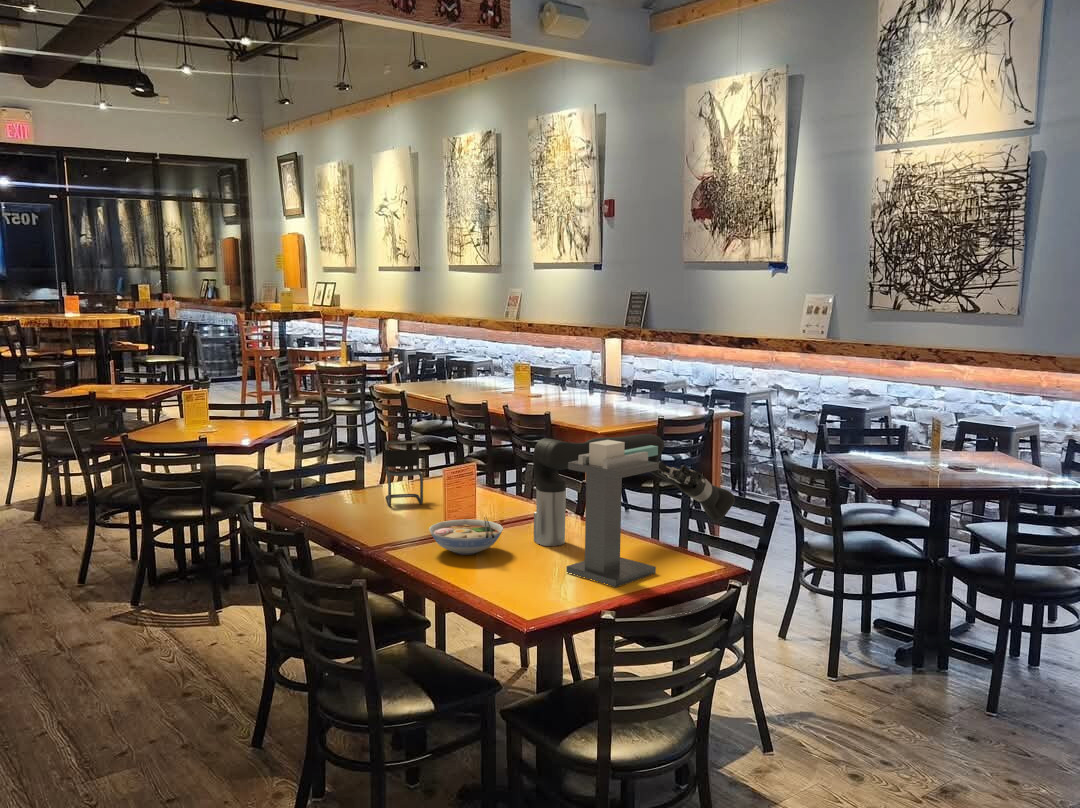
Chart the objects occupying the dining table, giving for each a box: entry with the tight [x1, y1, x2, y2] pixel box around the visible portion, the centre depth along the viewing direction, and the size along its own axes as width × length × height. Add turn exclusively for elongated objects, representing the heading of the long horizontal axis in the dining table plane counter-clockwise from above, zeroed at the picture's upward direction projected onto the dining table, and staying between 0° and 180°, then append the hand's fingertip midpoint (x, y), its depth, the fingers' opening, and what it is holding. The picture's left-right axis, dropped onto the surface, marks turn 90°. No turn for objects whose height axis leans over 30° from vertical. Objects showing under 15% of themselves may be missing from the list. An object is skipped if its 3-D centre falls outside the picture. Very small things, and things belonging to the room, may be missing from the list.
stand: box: [566, 452, 659, 588], centre depth 259 cm, size 18×18×34 cm
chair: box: [384, 439, 424, 507], centre depth 346 cm, size 13×17×22 cm
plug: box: [589, 440, 658, 467], centre depth 261 cm, size 6×26×6 cm, turn 136°
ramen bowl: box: [428, 516, 504, 556], centre depth 280 cm, size 25×23×8 cm
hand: (669, 466), depth 277 cm, fingers open, 8 cm apart
